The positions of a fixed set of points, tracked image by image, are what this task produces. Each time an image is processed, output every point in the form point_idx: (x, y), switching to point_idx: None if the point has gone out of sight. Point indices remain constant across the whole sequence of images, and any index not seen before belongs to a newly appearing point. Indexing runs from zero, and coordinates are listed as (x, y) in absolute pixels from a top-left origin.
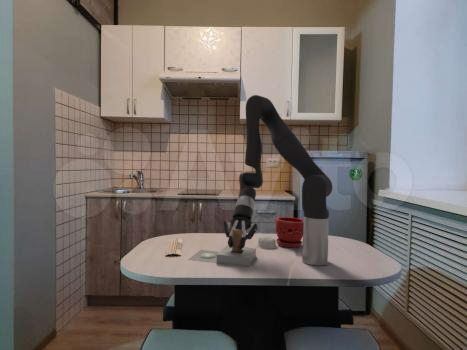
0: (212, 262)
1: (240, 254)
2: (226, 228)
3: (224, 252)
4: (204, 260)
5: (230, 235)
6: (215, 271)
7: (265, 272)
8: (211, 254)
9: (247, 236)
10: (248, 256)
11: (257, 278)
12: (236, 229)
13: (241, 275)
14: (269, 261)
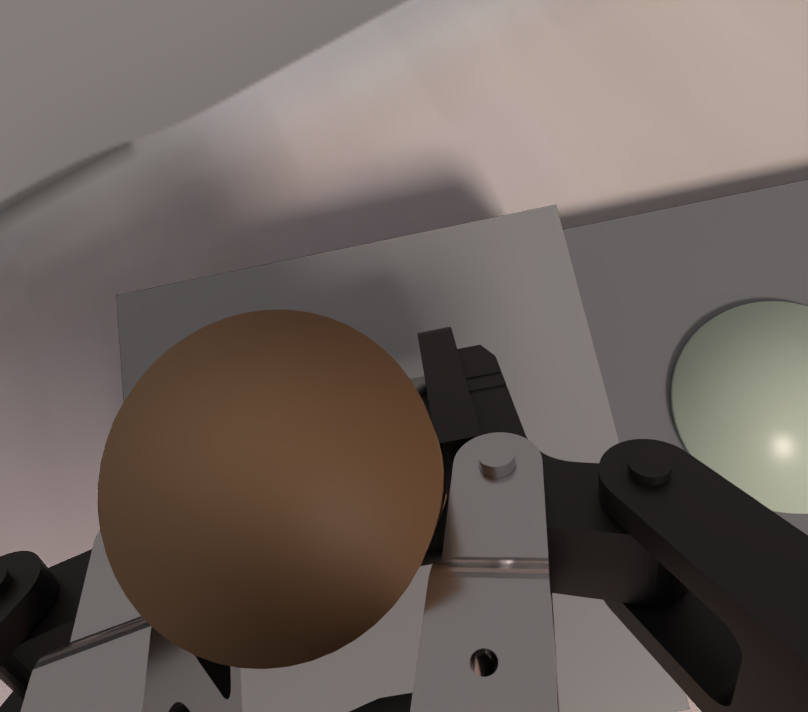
0: (578, 227)
1: None
2: (783, 591)
3: (504, 327)
4: (701, 237)
5: (497, 444)
6: (452, 123)
7: (19, 338)
8: (770, 464)
9: (69, 576)
10: (141, 340)
11: (56, 175)
12: (310, 507)
13: (200, 163)
14: None
